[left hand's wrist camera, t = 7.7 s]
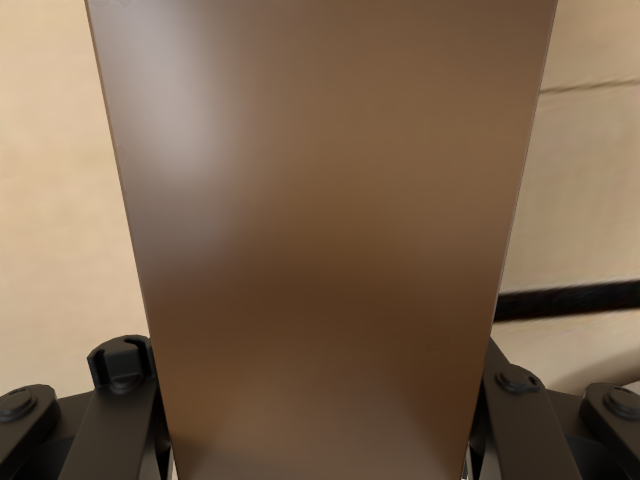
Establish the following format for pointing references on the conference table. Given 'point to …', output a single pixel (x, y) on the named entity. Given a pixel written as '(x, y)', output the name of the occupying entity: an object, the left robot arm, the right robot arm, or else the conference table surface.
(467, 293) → the bar
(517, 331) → the conference table surface
